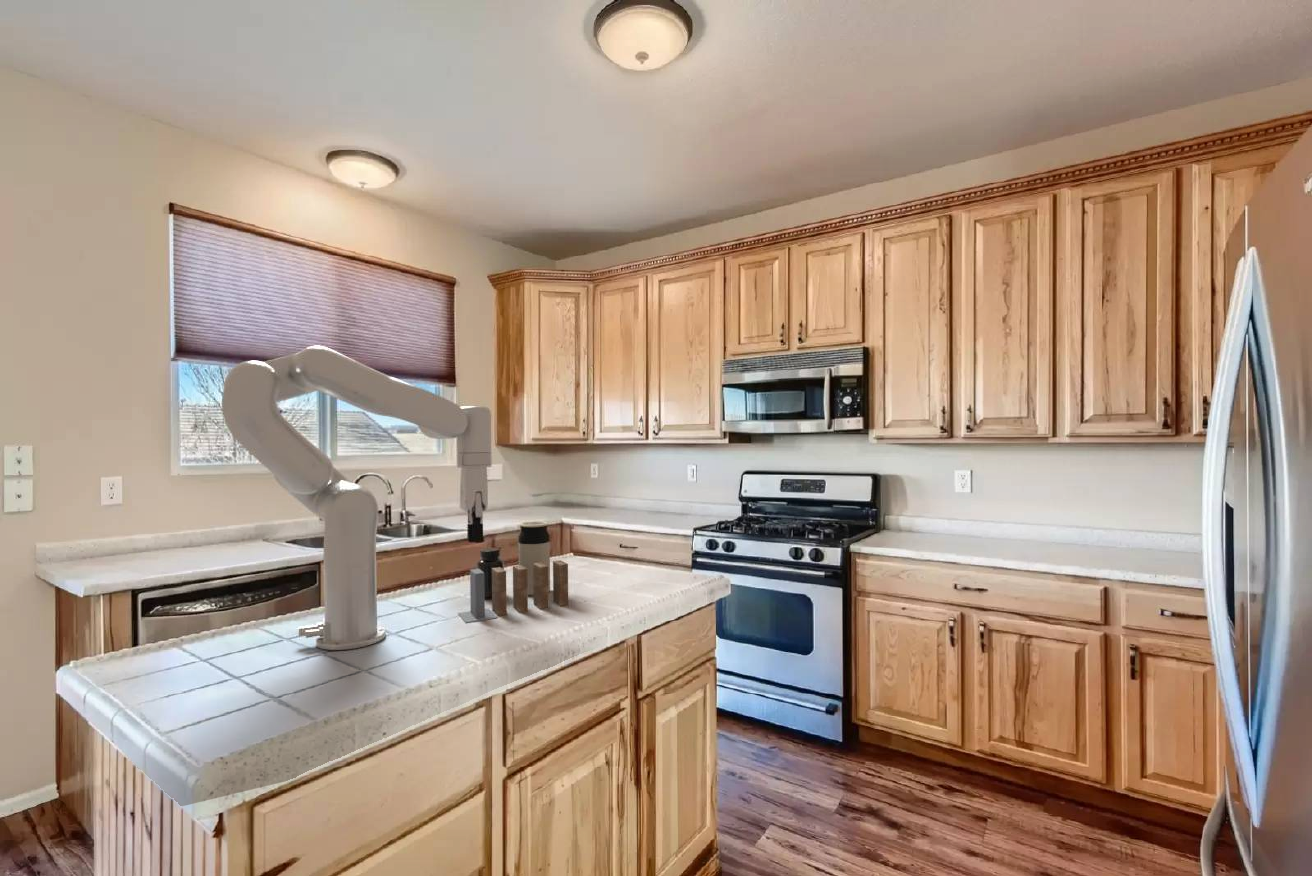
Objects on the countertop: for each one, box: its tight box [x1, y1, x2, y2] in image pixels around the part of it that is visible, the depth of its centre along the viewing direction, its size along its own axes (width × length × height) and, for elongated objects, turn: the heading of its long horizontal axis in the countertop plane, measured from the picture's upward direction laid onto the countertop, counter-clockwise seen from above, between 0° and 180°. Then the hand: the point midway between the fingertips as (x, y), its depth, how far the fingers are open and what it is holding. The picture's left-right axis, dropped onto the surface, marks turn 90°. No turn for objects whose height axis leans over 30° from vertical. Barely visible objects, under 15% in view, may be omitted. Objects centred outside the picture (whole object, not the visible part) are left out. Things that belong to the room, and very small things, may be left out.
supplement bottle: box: [475, 547, 505, 600], centre depth 160 cm, size 7×7×12 cm
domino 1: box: [469, 568, 486, 618], centre depth 142 cm, size 2×5×10 cm, turn 29°
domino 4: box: [533, 563, 549, 610], centre depth 150 cm, size 2×5×10 cm, turn 29°
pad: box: [457, 608, 498, 624], centre depth 142 cm, size 7×8×1 cm
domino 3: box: [512, 564, 529, 614], centre depth 147 cm, size 2×5×10 cm, turn 29°
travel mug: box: [517, 520, 551, 596], centre depth 163 cm, size 8×8×18 cm
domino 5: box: [552, 559, 569, 608], centre depth 152 cm, size 2×5×10 cm, turn 29°
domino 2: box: [491, 567, 508, 617], centre depth 145 cm, size 2×5×10 cm, turn 29°
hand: (475, 541), depth 142 cm, fingers closed
